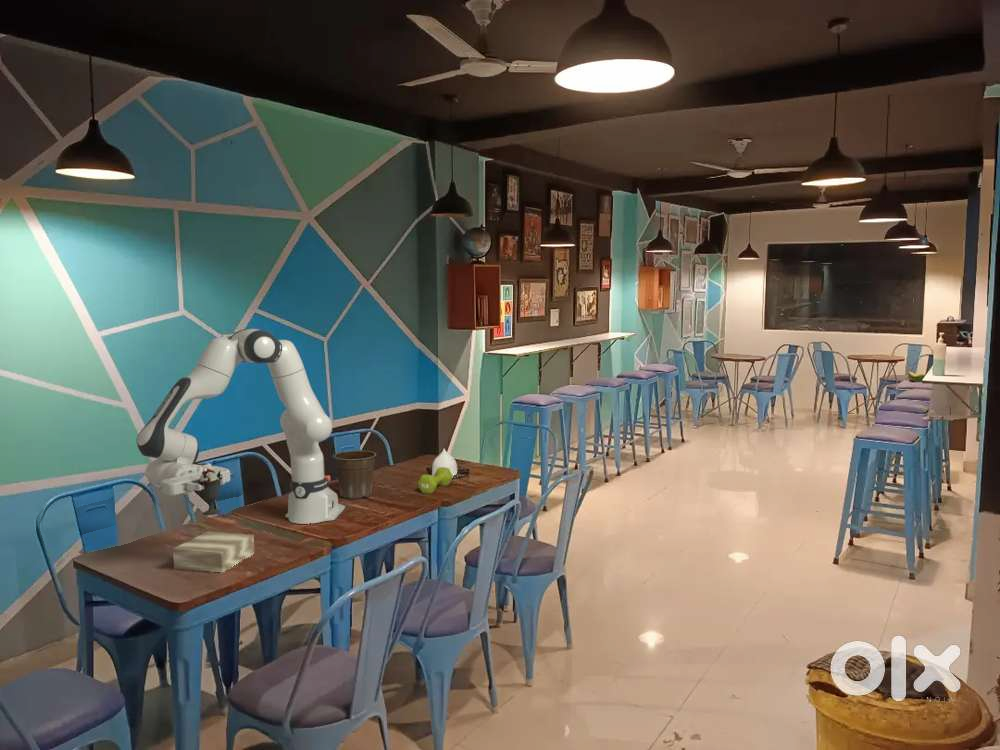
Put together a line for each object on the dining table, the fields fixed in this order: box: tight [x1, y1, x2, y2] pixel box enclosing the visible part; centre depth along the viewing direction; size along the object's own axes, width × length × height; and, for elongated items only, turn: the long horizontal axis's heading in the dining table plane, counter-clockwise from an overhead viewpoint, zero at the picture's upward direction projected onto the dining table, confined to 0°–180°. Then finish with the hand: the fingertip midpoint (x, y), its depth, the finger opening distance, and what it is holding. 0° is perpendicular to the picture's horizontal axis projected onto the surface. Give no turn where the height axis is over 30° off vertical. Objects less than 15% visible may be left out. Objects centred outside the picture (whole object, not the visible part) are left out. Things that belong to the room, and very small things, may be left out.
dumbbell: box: [417, 467, 453, 495], centre depth 299 cm, size 16×8×7 cm, turn 154°
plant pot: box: [333, 450, 377, 500], centre depth 291 cm, size 16×16×16 cm
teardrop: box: [431, 448, 458, 476], centre depth 320 cm, size 11×11×12 cm
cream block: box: [172, 530, 255, 574], centre depth 222 cm, size 16×16×6 cm
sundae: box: [198, 463, 222, 516], centre depth 220 cm, size 7×7×15 cm
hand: (212, 484), depth 219 cm, fingers closed on sundae, 5 cm apart
